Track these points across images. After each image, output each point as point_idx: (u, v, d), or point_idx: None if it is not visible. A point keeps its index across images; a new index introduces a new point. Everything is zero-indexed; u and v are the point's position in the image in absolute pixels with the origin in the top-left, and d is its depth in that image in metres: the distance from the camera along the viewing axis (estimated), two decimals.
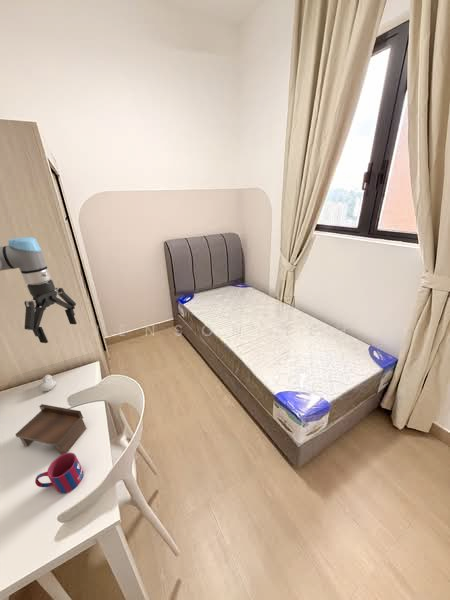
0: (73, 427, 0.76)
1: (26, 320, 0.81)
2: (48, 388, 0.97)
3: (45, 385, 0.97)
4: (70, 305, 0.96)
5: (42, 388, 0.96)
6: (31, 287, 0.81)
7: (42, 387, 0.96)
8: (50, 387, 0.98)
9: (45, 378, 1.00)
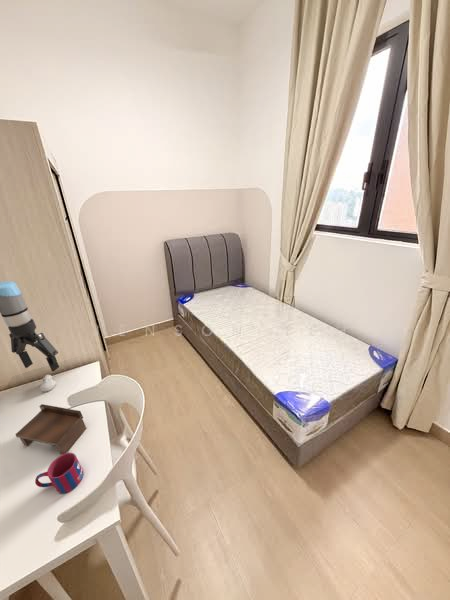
0: (73, 427, 0.76)
1: (49, 349, 0.90)
2: (48, 388, 0.97)
3: (45, 385, 0.97)
4: None
5: (42, 388, 0.96)
6: (29, 324, 0.88)
7: (42, 387, 0.96)
8: (50, 387, 0.98)
9: (45, 378, 1.00)
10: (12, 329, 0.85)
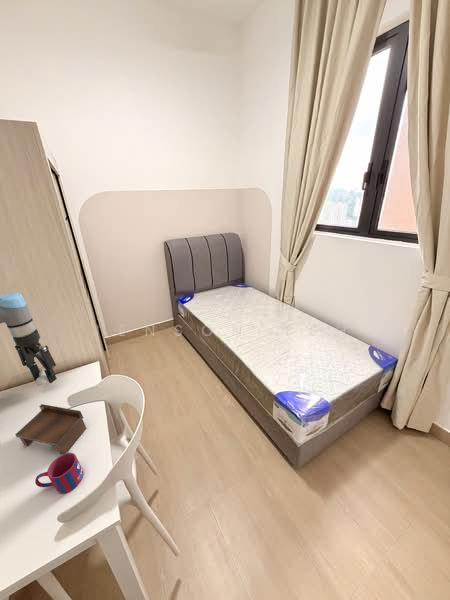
0: (73, 427, 0.76)
1: (49, 362, 0.93)
2: (44, 382, 0.95)
3: (41, 379, 0.95)
4: None
5: (38, 382, 0.94)
6: (34, 334, 0.89)
7: (38, 381, 0.94)
8: (46, 381, 0.96)
9: (41, 372, 0.98)
10: (17, 339, 0.87)
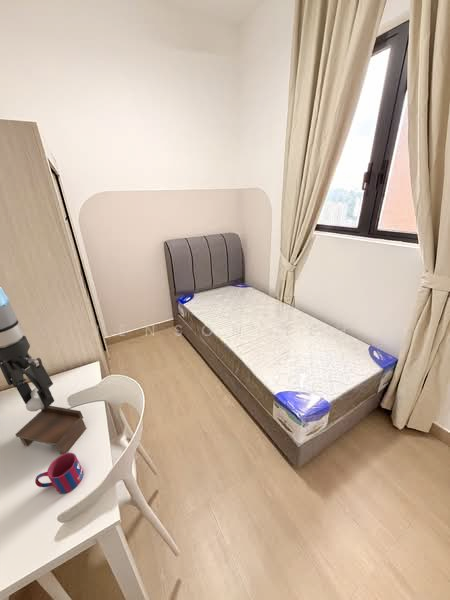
0: (73, 427, 0.76)
1: (43, 380, 0.68)
2: (37, 407, 0.70)
3: (33, 403, 0.70)
4: None
5: (28, 407, 0.69)
6: (21, 343, 0.64)
7: (28, 406, 0.69)
8: (40, 406, 0.71)
9: (34, 392, 0.73)
10: None
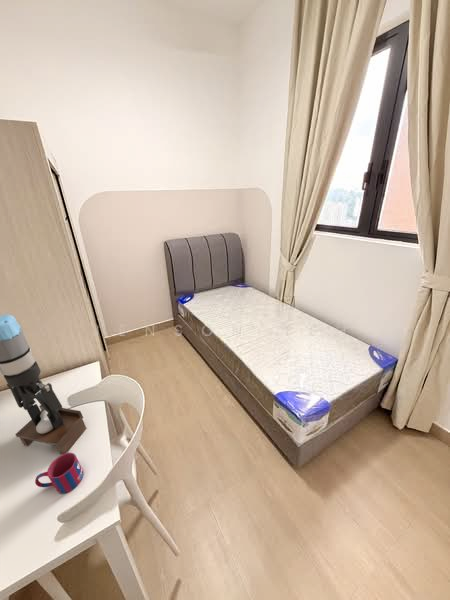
0: (73, 427, 0.76)
1: (53, 404, 0.70)
2: (47, 429, 0.72)
3: (43, 425, 0.72)
4: None
5: (39, 430, 0.72)
6: (32, 369, 0.66)
7: (39, 428, 0.72)
8: (49, 428, 0.73)
9: (43, 414, 0.76)
10: (9, 378, 0.64)
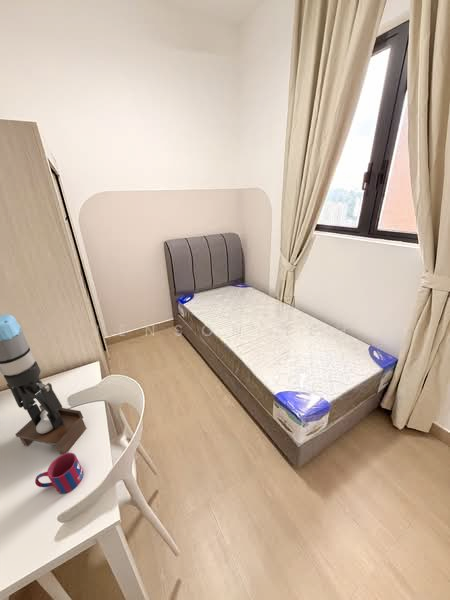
0: (73, 427, 0.76)
1: (53, 404, 0.70)
2: (47, 429, 0.72)
3: (43, 425, 0.72)
4: None
5: (38, 430, 0.71)
6: (32, 369, 0.66)
7: (39, 428, 0.72)
8: (49, 428, 0.73)
9: (43, 414, 0.76)
10: (9, 378, 0.64)
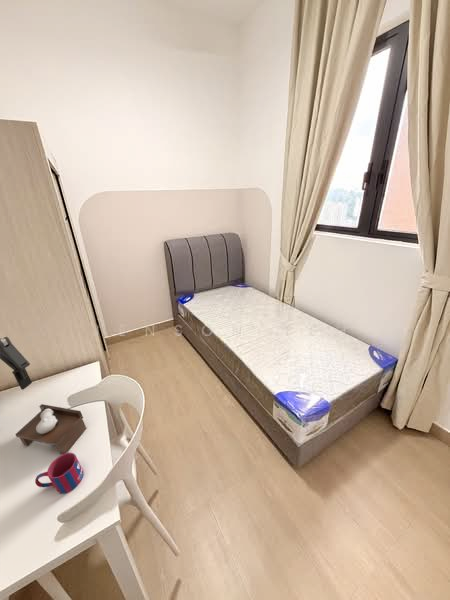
0: (73, 427, 0.76)
1: (16, 359, 0.65)
2: (47, 429, 0.72)
3: (43, 426, 0.72)
4: None
5: (39, 430, 0.72)
6: None
7: (39, 428, 0.72)
8: (49, 428, 0.73)
9: (43, 414, 0.76)
10: None
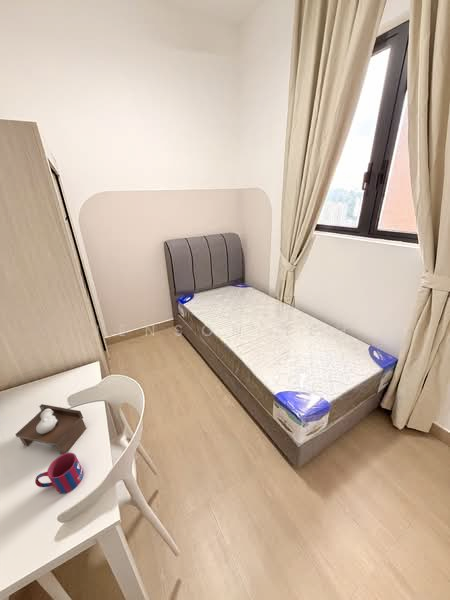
0: (73, 427, 0.76)
1: None
2: (47, 429, 0.72)
3: (43, 426, 0.72)
4: None
5: (39, 430, 0.72)
6: None
7: (39, 428, 0.72)
8: (49, 428, 0.73)
9: (43, 414, 0.76)
10: None
